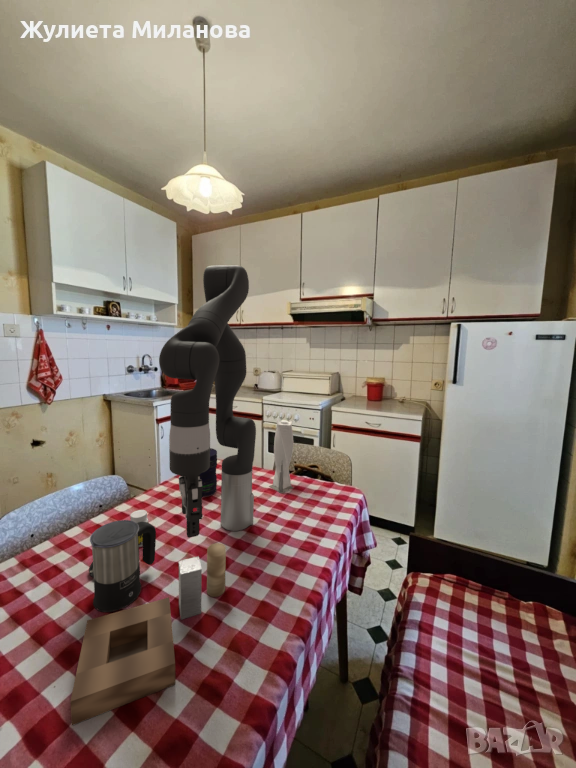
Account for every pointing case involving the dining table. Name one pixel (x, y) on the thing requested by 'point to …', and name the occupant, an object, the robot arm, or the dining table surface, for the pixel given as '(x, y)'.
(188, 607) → the square peg
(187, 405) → the robot arm
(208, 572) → the round dowel
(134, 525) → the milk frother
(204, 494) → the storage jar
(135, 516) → the supplement bottle
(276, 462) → the skyscraper
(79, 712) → the bore block
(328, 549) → the dining table surface
